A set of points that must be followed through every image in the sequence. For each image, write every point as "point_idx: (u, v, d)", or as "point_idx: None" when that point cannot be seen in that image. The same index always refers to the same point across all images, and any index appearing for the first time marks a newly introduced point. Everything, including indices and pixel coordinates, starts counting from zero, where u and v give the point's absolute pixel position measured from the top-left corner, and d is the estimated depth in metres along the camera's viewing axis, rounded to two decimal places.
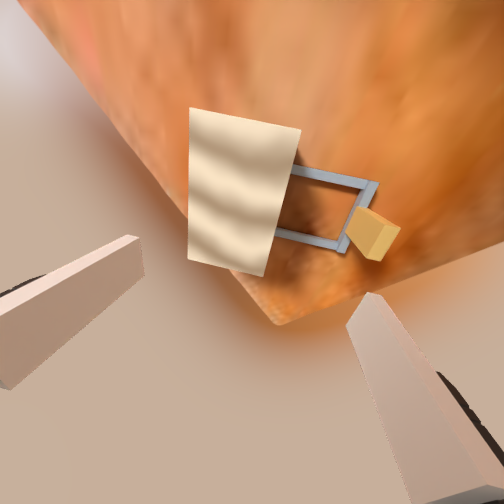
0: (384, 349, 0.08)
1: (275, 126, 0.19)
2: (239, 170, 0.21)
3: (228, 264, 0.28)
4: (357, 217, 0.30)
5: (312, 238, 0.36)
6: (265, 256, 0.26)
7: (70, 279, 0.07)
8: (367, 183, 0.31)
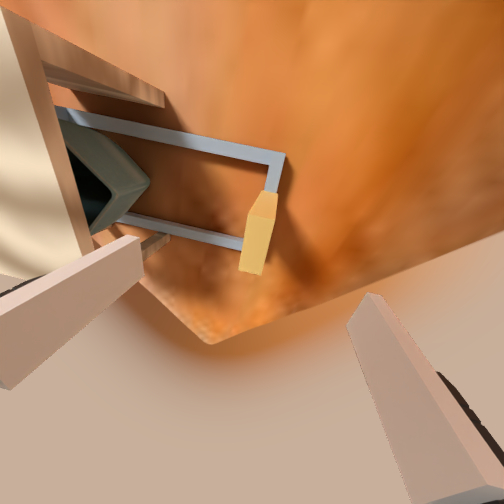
0: (384, 349, 0.08)
1: None
2: None
3: None
4: None
5: (218, 237, 0.27)
6: None
7: (70, 279, 0.07)
8: None
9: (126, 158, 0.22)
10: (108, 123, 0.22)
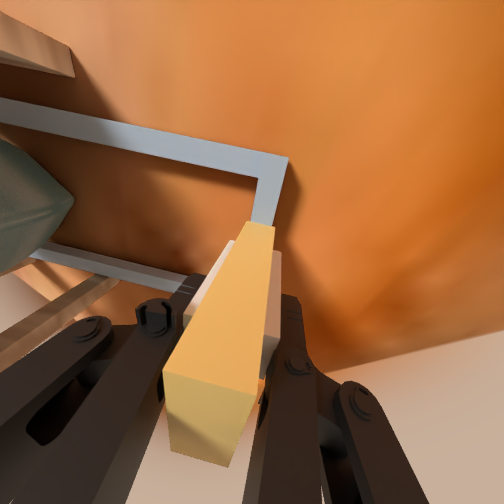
0: None
1: None
2: None
3: None
4: None
5: None
6: None
7: None
8: None
9: (15, 165, 0.13)
10: None
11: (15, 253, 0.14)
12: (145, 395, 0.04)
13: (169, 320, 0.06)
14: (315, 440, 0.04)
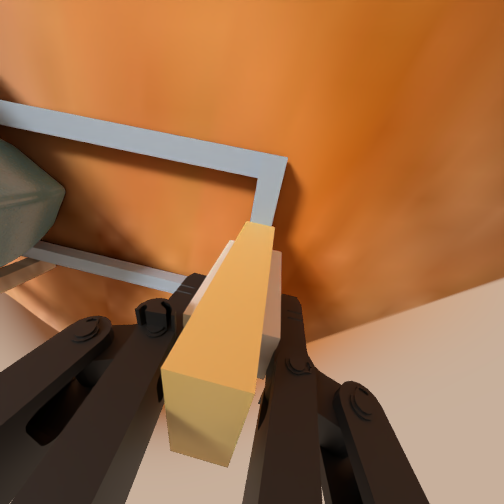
0: None
1: None
2: None
3: None
4: None
5: None
6: None
7: None
8: None
9: (0, 154, 0.13)
10: None
11: (7, 245, 0.14)
12: (145, 395, 0.04)
13: (169, 320, 0.06)
14: (316, 440, 0.04)
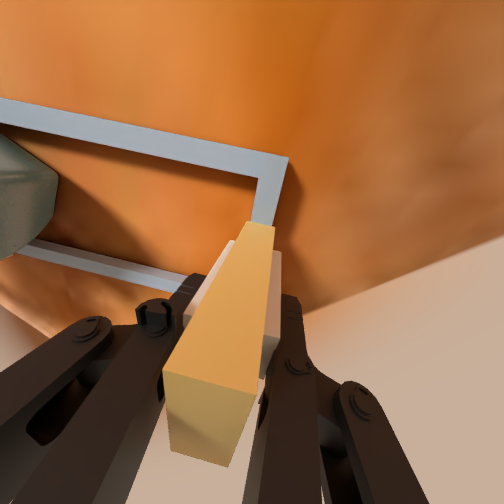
0: None
1: None
2: None
3: None
4: None
5: None
6: None
7: None
8: None
9: None
10: None
11: (3, 233, 0.13)
12: (145, 395, 0.04)
13: (169, 320, 0.06)
14: (316, 440, 0.04)
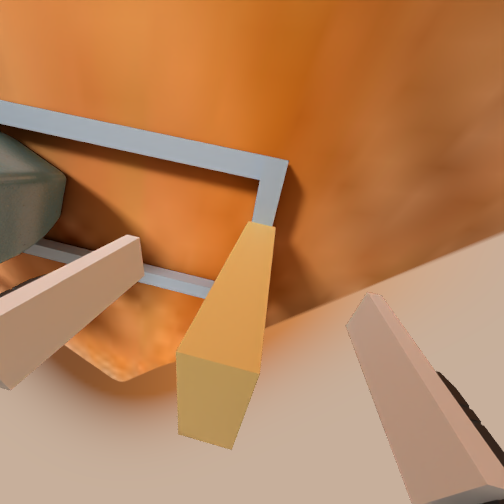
0: (384, 349, 0.08)
1: None
2: None
3: None
4: None
5: (186, 283, 0.18)
6: None
7: (70, 279, 0.07)
8: None
9: None
10: None
11: (14, 232, 0.14)
12: None
13: None
14: None
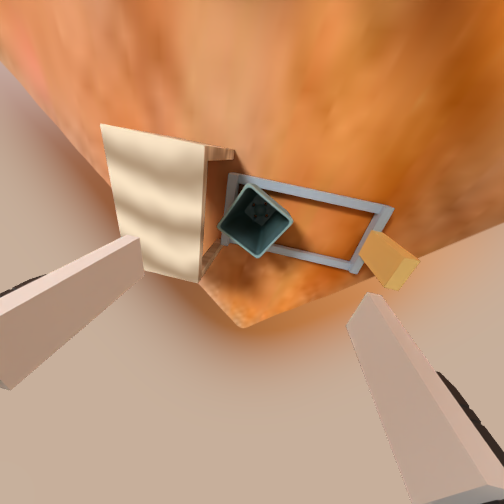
0: (384, 349, 0.08)
1: (180, 142, 0.20)
2: (156, 182, 0.22)
3: (164, 271, 0.28)
4: (372, 242, 0.31)
5: (325, 259, 0.37)
6: (196, 263, 0.27)
7: (70, 279, 0.07)
8: (382, 208, 0.31)
9: None
10: (267, 184, 0.32)
11: None
12: None
13: None
14: None
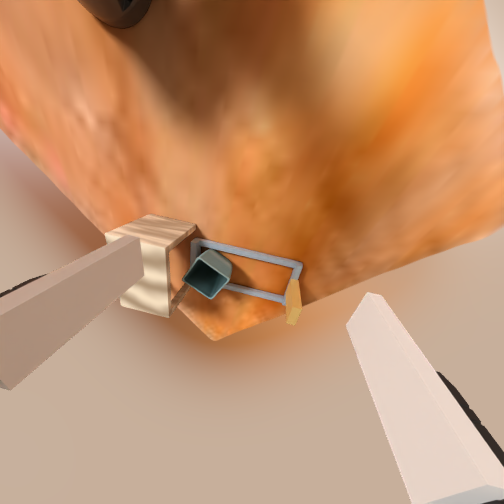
0: (384, 349, 0.08)
1: (151, 245, 0.34)
2: None
3: (146, 310, 0.43)
4: (289, 288, 0.45)
5: (265, 295, 0.51)
6: (166, 306, 0.41)
7: (70, 279, 0.07)
8: (296, 264, 0.45)
9: (220, 256, 0.46)
10: (219, 247, 0.46)
11: None
12: None
13: None
14: None
